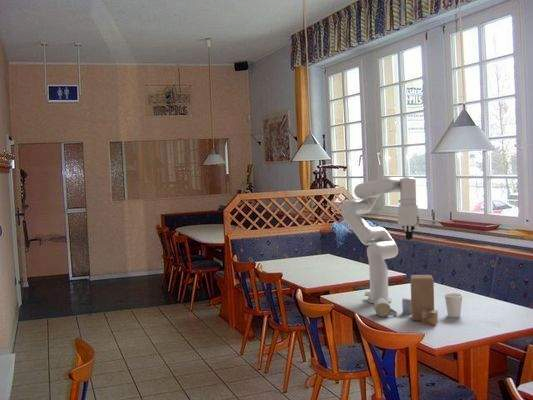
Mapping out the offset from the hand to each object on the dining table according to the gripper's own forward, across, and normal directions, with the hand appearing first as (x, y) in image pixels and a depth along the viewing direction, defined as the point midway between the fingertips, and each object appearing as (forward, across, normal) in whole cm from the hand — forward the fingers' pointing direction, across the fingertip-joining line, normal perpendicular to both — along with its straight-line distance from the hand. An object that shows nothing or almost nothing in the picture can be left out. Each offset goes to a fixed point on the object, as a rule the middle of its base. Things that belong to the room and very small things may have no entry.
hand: (409, 239), depth 298 cm
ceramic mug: (+35, -4, -18) cm, 40 cm away
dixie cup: (+35, +23, 0) cm, 42 cm away
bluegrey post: (+35, +3, -8) cm, 36 cm away
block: (+35, +14, -13) cm, 40 cm away
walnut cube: (+35, +21, -19) cm, 45 cm away
